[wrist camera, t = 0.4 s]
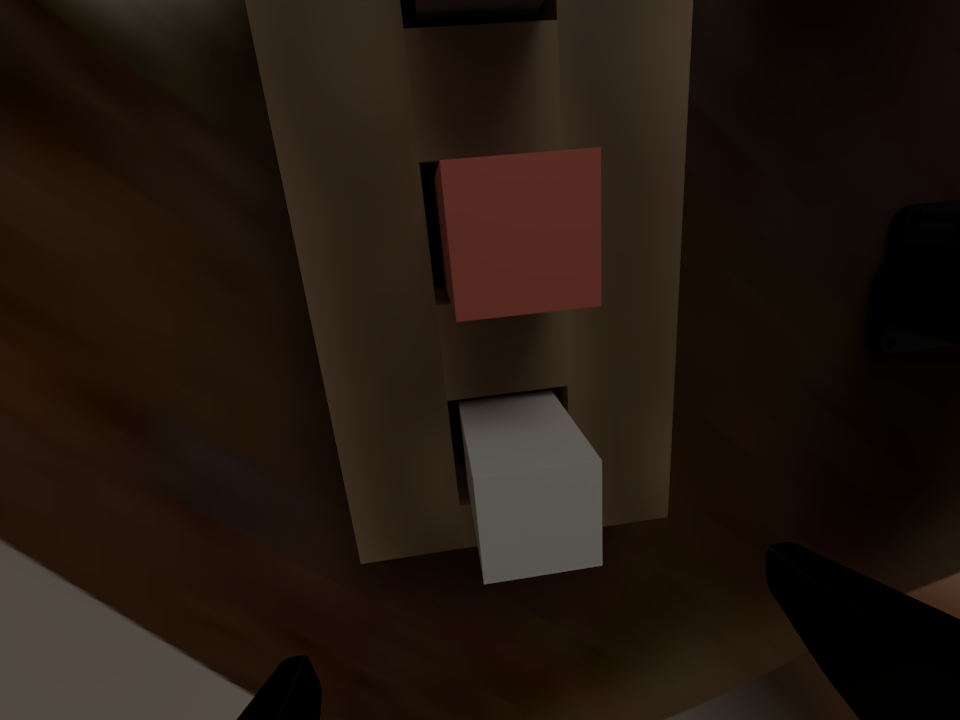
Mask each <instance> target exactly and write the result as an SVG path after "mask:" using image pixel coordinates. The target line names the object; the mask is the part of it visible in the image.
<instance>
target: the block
mask: <svg viewBox="0 0 960 720" xmlns="http://www.w3.org/2000/svg"><path fill="white" fill-rule="evenodd" d="M245 3H246V8H247V13H248V18H249V23H250V28H251V33H252V37H253V42H254V47H255V52H256V57H257V62H258V67H259V71H260V76H261V81H262V86H263V91H264V96H265V101H266V105H267V110H268V115H269V120H270V125H271V130H272V135H273V139H274V144H275V149H276V154H277V159H278V164H279V169H280V173H281V178H282V183H283V188H284V193H285V198H286V203H287V207H288V212H289V217H290V222H291V227H292V232H293V237H294V241H295V246H296V251H297V256H298V261H299V266H300V271H301V275H302V280H303V285H304V290H305V295H306V300H307V305H308V309H309V314H310V319H311V324H312V329H313V334H314V339H315V343H316V348H317V353H318V358H319V363H320V368H321V373H322V377H323V382H324V387H325V392H326V397H327V402H328V407H329V411H330V416H331V421H332V426H333V431H334V436H335V441H336V445H337V450H338V455H339V460H340V465H341V470H342V475H343V479H344V484H345V489H346V494H347V499H348V504H349V509H350V513H351V518H352V523H353V528H354V533H355V538H356V543H357V547H358V552H359V557H360V562H361V564H364V563H370V562H377V561H383V560H390V559H397V558H403V557H410V556H416V555H423V554H429V553H436V552H442V551H449V550H455V549H462V548H468V547H475V546H478V545H477V539H476V533H475V527H474V521H473V514H472V508H471V502H470V496H469V490H468V484H467V475H466V466H465V456H464V451H459V452H453V446H452V437H451V429H450V420H449V412H448V403H447V401H451V400H459V399H467V398H475V397H483V396H490V395H498V394H506V393H514V392H522V391H530V390H538V389H542V392H544V391H552V392H553V393H554V395H555V396H556V397H557V399H558V400H559V402H560V403H561V404H562V406H563V407H564V408H565V410H566V411H567V413H568V414H569V415H570V417H571V418H572V420H573V421H574V422H575V424H576V425H577V426H578V428H579V429H580V431H581V432H582V433H583V435H584V436H585V438H586V439H587V440H588V442H589V443H590V444H591V446H592V447H593V449H594V450H595V451H596V453H597V454H598V456H599V457H600V458H601V460H602V527H605V526H612V525H618V524H625V523H631V522H638V521H644V520H651V519H657V518H664V517H668V500H669V480H670V459H671V439H672V419H673V398H674V378H675V358H676V338H677V317H678V297H679V277H680V256H681V236H682V216H683V195H684V175H685V155H686V134H687V114H688V94H689V74H690V53H691V33H692V13H693V0H544V1H543V3H542V5H541V6H540V8H539V10H538V12H537V13H536V14H524V22H510V23H492V24H474V25H457V26H439V27H421V28H404V29H403V20H402V12H401V3H400V0H245ZM595 147H601V306H597V307H588V308H579V309H570V310H561V311H552V312H543V313H534V314H525V315H516V316H507V317H498V318H489V319H480V320H471V321H462V322H456V319H455V315H454V312H453V309H452V306H451V302H450V299H449V296H448V293H447V289H446V285H441V286H434V284H433V276H432V267H431V259H430V250H429V242H428V233H427V225H426V216H425V208H424V199H423V191H422V182H421V174H420V173H432V172H436V170H437V167H438V164H439V161H440V160H448V159H460V158H472V157H485V156H497V155H509V154H522V153H534V152H546V151H558V150H571V149H583V148H595Z"/></svg>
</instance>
